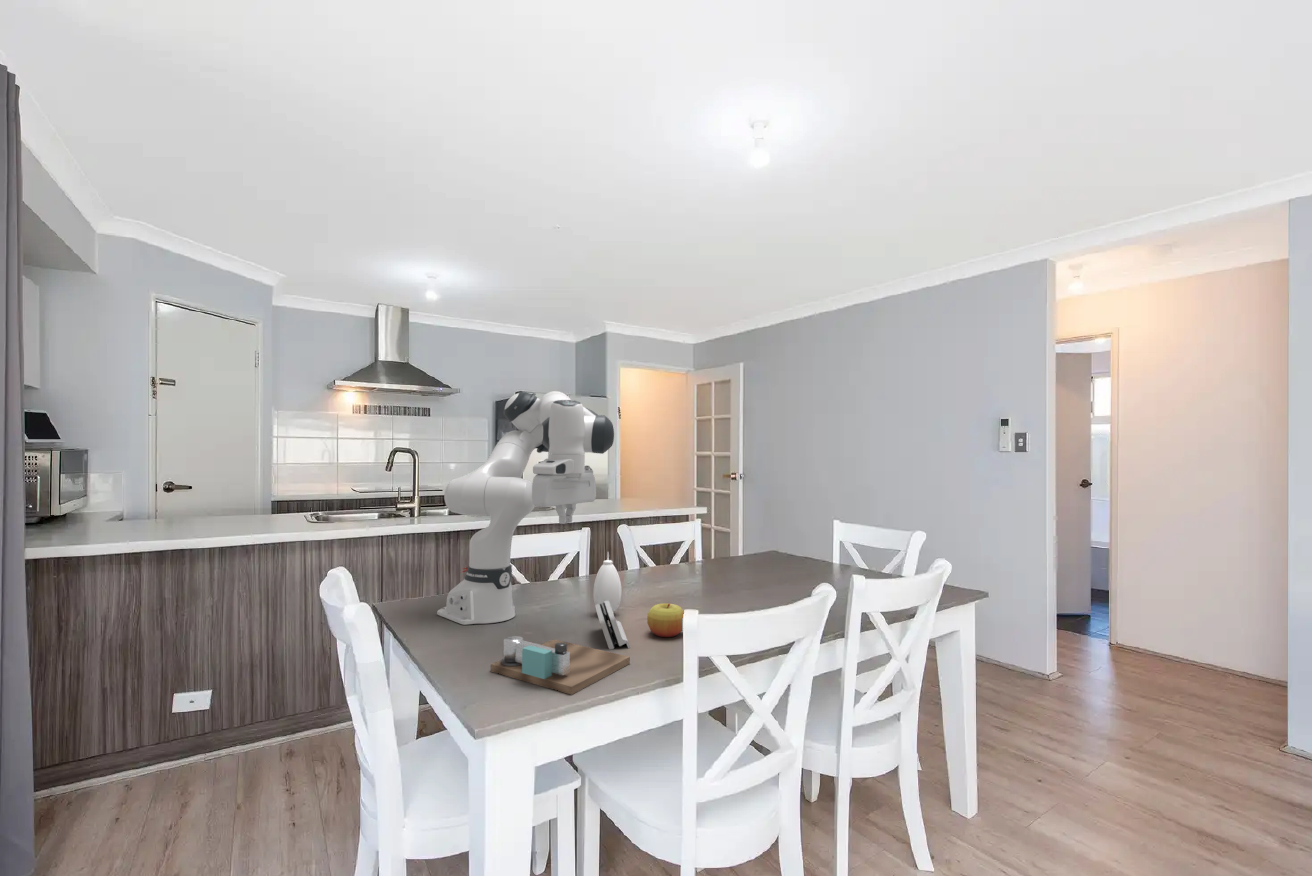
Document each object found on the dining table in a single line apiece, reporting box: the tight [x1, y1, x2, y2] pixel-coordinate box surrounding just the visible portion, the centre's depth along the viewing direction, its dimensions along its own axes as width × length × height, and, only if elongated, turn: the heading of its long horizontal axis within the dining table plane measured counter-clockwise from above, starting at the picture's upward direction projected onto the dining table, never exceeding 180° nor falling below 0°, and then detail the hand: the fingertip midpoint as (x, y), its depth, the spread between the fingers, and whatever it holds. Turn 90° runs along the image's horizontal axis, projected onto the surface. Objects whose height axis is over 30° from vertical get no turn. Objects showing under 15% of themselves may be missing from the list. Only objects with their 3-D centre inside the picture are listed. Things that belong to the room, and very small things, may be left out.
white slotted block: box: [594, 601, 631, 650], centre depth 151 cm, size 17×5×10 cm, turn 10°
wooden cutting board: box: [490, 639, 631, 696], centre depth 131 cm, size 22×20×2 cm
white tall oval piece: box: [592, 551, 622, 615], centre depth 172 cm, size 8×8×18 cm
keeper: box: [522, 646, 552, 679], centre depth 123 cm, size 6×2×5 cm, turn 58°
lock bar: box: [502, 635, 570, 675], centre depth 126 cm, size 17×4×6 cm, turn 57°
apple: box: [646, 602, 685, 638], centre depth 155 cm, size 10×10×8 cm
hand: (565, 523), depth 147 cm, fingers closed
